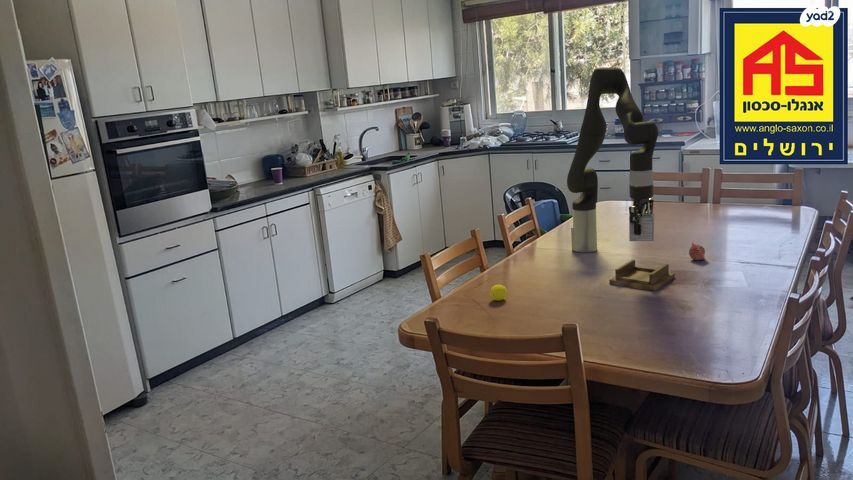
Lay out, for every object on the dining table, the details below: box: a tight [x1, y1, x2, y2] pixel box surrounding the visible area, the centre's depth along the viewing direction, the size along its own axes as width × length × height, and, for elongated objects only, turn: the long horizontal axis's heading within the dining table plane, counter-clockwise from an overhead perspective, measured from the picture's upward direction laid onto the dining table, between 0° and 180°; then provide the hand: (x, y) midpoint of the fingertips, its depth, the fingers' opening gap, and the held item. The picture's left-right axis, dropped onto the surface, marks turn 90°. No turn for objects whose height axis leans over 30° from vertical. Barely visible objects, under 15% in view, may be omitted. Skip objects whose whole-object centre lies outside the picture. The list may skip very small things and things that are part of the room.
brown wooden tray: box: [609, 259, 676, 292], centre depth 227 cm, size 16×16×5 cm
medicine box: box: [628, 213, 655, 242], centre depth 223 cm, size 8×4×9 cm, turn 70°
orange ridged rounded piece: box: [688, 242, 707, 261], centre depth 244 cm, size 8×8×6 cm
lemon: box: [489, 284, 508, 302], centre depth 220 cm, size 7×5×5 cm
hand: (641, 232), depth 223 cm, fingers closed on medicine box, 5 cm apart
